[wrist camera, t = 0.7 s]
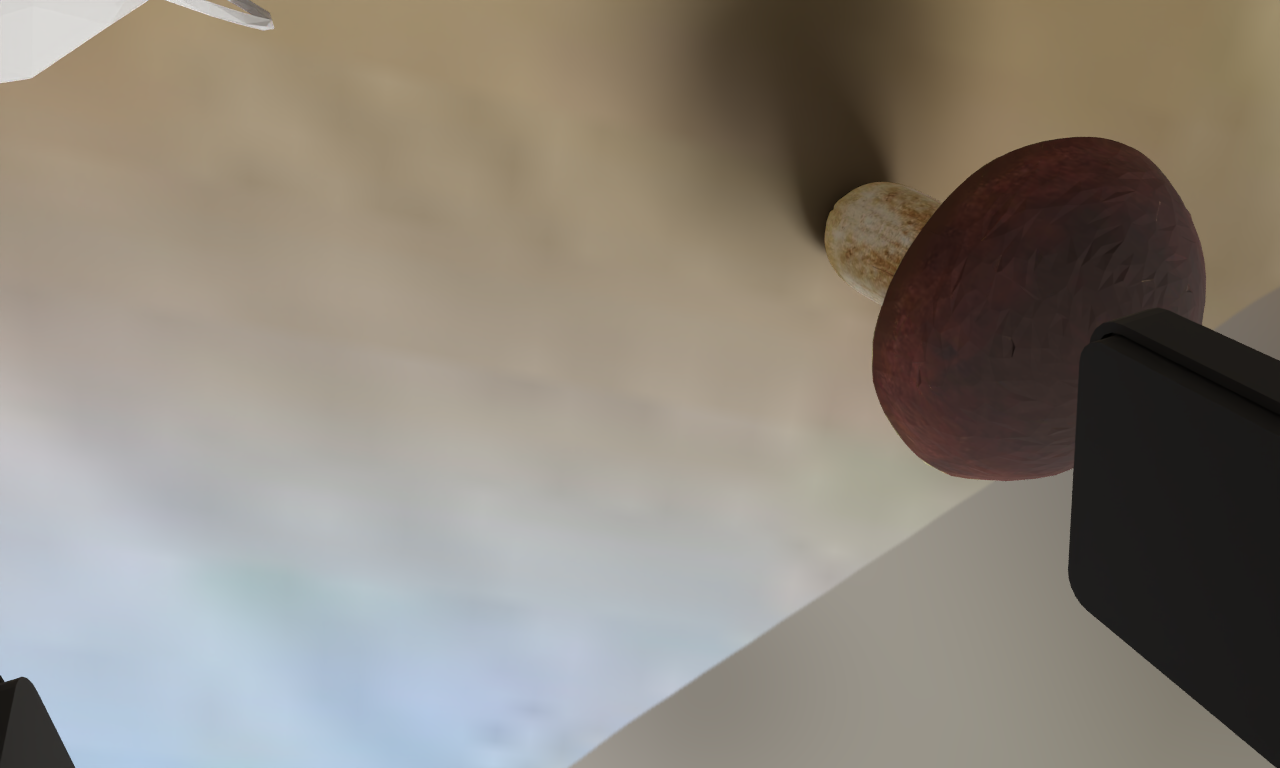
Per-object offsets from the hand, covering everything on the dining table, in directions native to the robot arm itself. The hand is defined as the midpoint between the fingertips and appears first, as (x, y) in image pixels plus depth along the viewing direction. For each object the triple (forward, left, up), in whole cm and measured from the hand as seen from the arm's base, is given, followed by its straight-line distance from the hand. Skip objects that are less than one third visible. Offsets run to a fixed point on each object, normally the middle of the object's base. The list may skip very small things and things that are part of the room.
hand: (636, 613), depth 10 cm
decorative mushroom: (0, +20, -29) cm, 35 cm away
